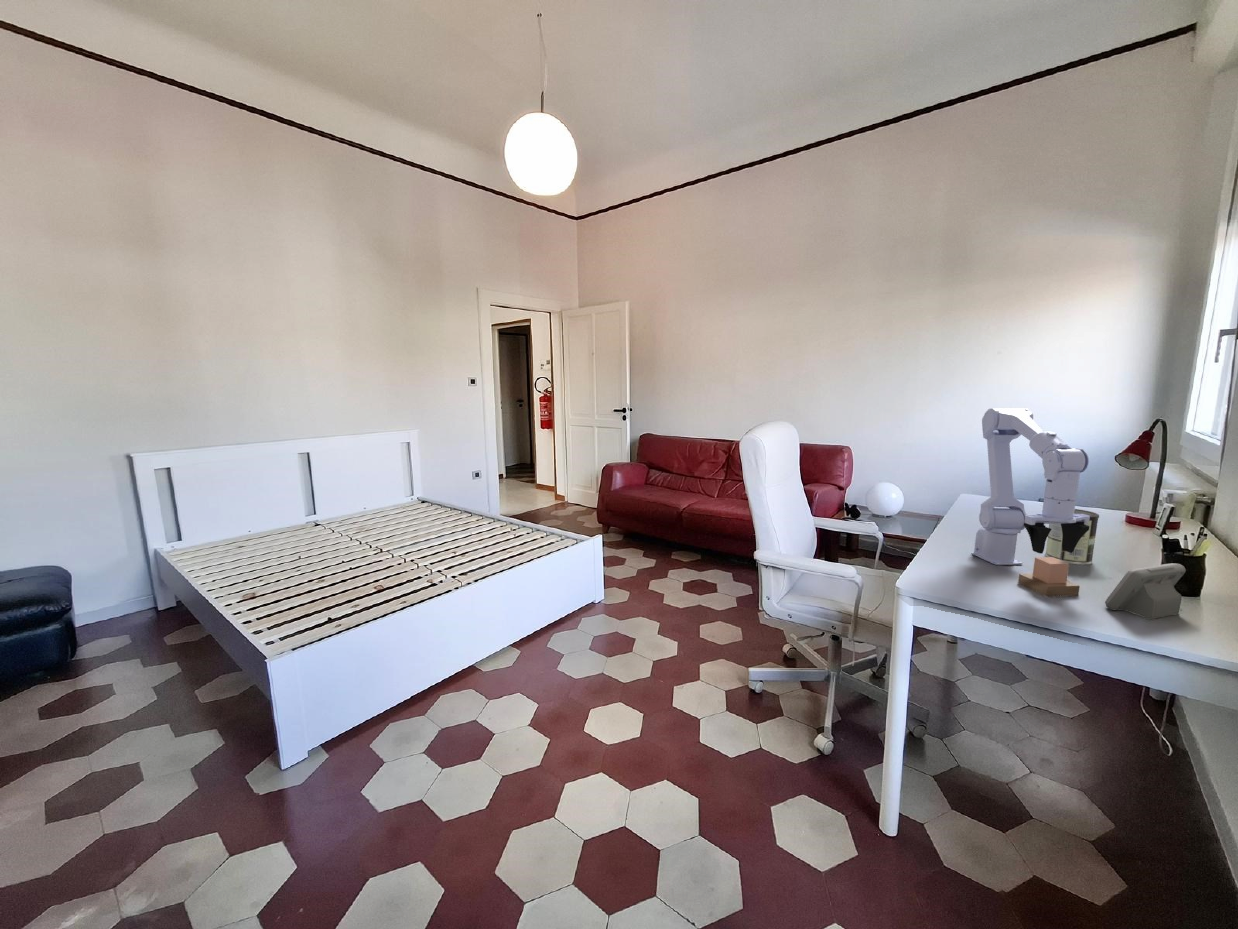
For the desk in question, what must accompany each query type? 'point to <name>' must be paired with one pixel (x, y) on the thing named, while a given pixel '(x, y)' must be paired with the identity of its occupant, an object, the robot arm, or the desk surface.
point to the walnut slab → (1048, 586)
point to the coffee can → (1083, 547)
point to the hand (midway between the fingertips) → (1052, 551)
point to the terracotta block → (1050, 570)
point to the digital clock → (1148, 591)
